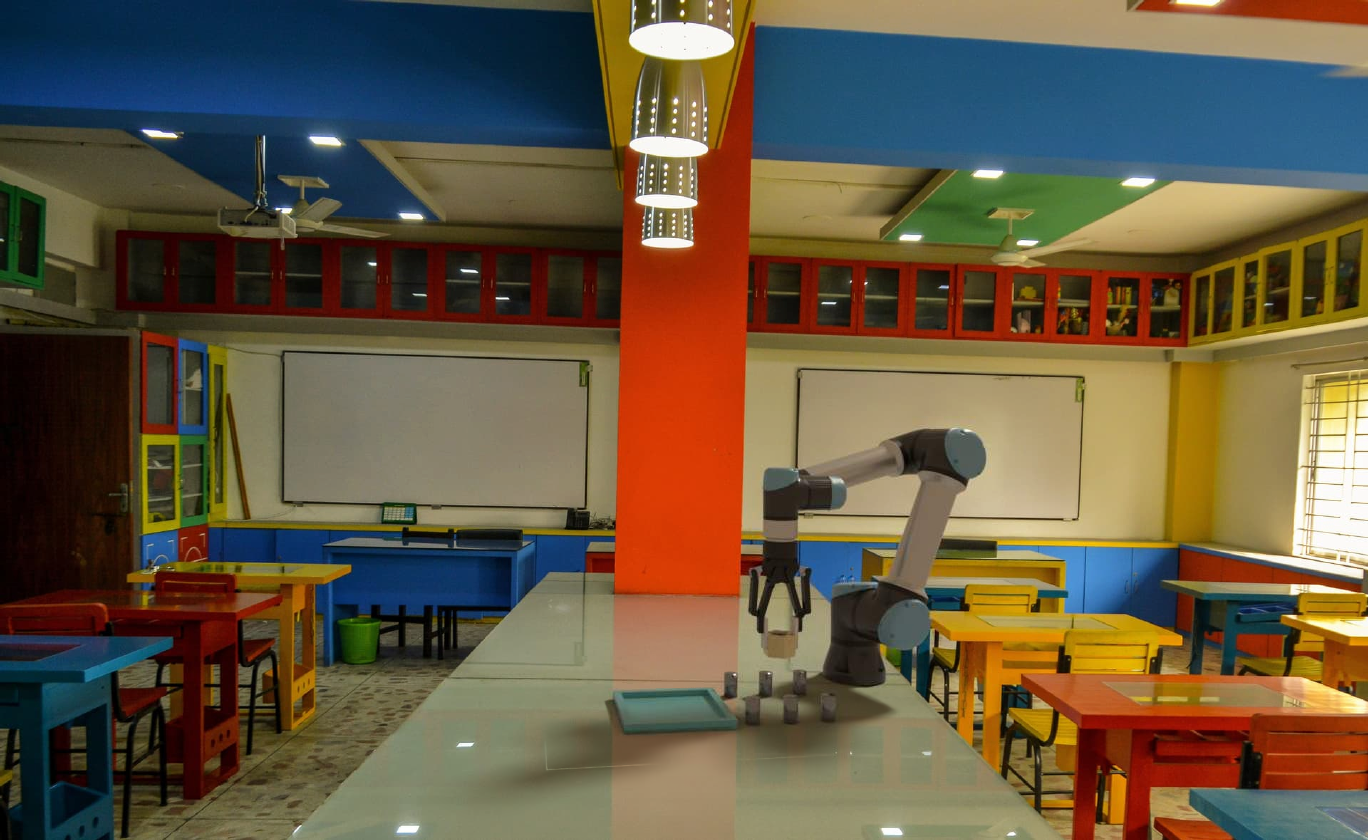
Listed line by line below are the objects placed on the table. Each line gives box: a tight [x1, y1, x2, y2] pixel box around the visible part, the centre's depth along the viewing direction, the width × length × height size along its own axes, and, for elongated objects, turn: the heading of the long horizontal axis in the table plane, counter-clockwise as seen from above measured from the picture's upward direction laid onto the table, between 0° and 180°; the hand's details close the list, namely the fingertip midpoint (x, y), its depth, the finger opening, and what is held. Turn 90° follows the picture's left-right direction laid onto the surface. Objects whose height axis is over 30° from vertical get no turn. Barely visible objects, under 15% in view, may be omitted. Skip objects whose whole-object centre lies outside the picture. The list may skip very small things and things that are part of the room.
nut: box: [763, 629, 797, 660], centre depth 178 cm, size 6×7×5 cm
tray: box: [612, 686, 739, 735], centre depth 172 cm, size 22×22×2 cm
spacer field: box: [723, 669, 837, 727], centre depth 178 cm, size 19×21×5 cm
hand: (779, 647), depth 178 cm, fingers closed on nut, 6 cm apart
